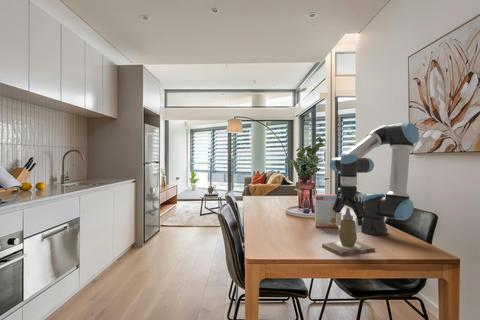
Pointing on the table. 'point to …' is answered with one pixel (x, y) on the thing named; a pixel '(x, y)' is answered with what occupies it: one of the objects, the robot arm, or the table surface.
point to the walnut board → (348, 248)
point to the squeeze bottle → (347, 230)
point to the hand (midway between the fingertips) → (348, 228)
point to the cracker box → (325, 210)
